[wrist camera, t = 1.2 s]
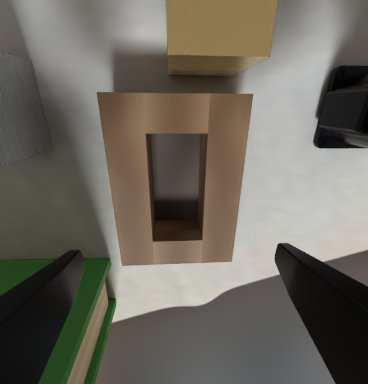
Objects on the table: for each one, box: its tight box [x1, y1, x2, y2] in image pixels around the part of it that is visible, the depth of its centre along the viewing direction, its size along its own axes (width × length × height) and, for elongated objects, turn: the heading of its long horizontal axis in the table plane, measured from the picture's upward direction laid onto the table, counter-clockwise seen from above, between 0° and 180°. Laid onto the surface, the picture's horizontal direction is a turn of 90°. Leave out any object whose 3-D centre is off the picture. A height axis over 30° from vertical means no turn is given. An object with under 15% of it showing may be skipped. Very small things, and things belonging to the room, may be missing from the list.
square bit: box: [166, 0, 278, 76], centre depth 12 cm, size 5×5×7 cm
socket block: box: [97, 92, 253, 266], centre depth 18 cm, size 10×14×4 cm
